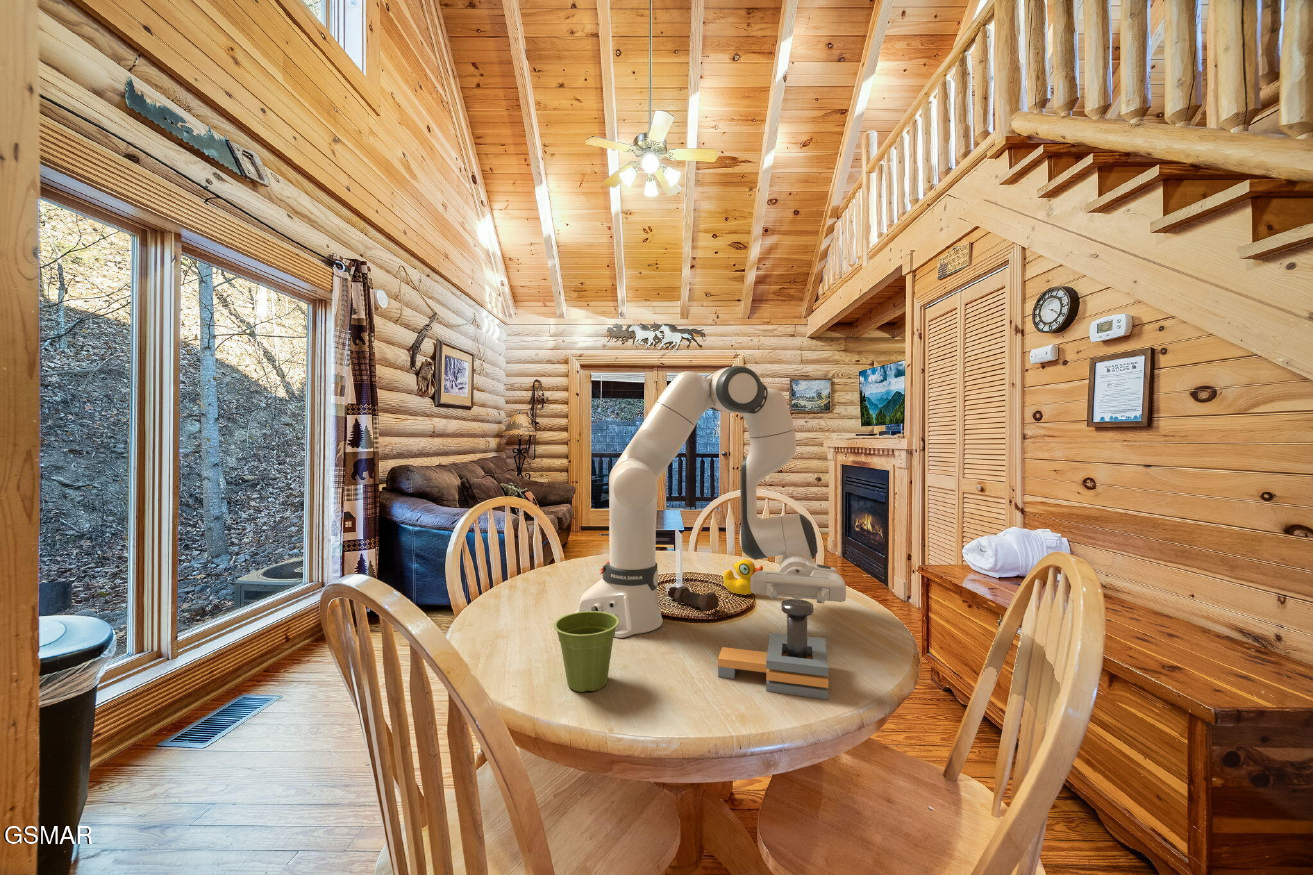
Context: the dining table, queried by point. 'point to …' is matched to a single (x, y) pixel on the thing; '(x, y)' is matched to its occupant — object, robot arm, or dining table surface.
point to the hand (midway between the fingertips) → (796, 597)
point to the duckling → (745, 571)
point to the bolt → (694, 598)
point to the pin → (797, 626)
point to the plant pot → (586, 647)
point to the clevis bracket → (782, 666)
